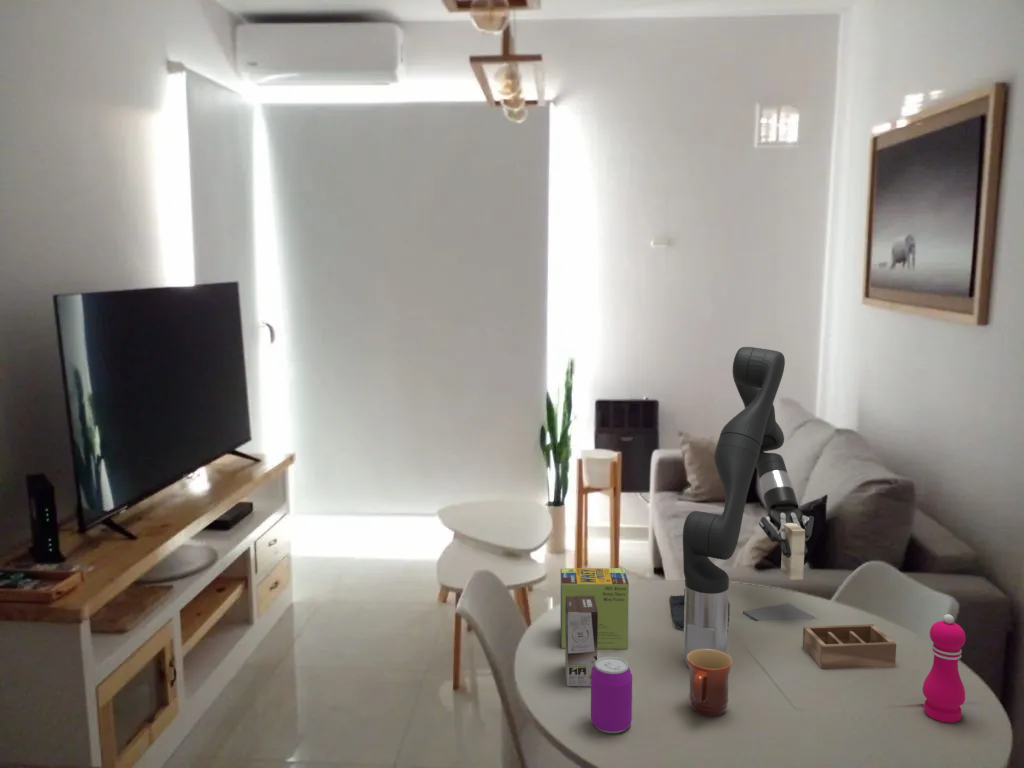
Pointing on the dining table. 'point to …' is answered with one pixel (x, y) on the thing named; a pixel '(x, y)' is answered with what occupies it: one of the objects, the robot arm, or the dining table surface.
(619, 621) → the protein box
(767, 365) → the robot arm
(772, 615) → the rubber mat
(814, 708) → the dining table surface
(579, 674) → the coffee box
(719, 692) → the mug
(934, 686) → the pepper mill
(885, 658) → the walnut box
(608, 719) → the beverage can
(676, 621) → the dark slate chunk
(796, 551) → the ash block
